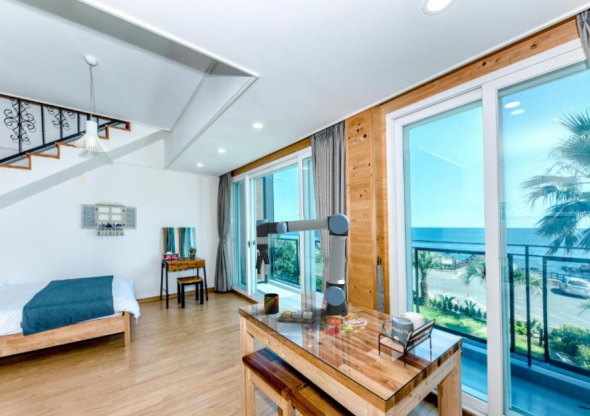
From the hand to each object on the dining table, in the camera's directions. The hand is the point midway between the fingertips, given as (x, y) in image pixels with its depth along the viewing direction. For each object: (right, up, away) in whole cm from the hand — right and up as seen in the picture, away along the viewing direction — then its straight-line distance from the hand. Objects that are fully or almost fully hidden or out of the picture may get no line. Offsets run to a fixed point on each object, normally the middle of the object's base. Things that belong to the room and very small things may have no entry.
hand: (263, 276), depth 168 cm
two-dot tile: (+22, -23, -7) cm, 33 cm away
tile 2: (+28, -23, -9) cm, 37 cm away
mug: (+4, -26, +6) cm, 27 cm away
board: (+22, -25, -7) cm, 34 cm away
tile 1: (+15, -24, -6) cm, 29 cm away
